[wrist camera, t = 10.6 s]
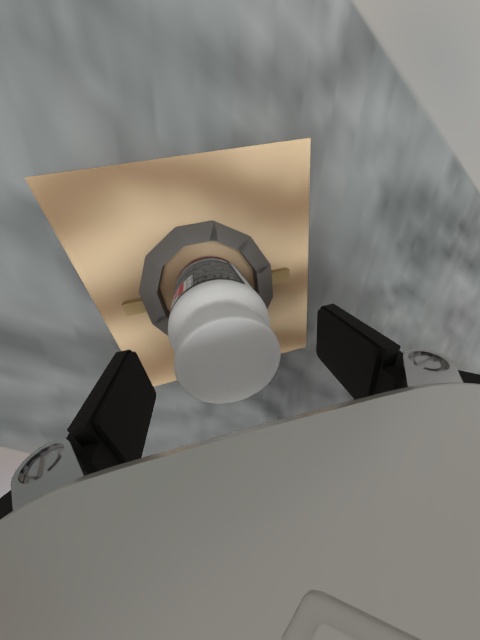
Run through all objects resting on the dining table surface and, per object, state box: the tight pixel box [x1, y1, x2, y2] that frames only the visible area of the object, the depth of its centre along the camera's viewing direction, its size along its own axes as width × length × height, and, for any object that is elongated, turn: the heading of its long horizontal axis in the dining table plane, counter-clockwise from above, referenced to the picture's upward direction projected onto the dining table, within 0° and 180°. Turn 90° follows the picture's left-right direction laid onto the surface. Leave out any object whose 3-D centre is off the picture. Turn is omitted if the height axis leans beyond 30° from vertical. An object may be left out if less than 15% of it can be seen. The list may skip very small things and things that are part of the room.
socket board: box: [24, 138, 311, 386], centre depth 17 cm, size 18×18×2 cm
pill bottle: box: [168, 256, 281, 403], centre depth 13 cm, size 6×6×10 cm
